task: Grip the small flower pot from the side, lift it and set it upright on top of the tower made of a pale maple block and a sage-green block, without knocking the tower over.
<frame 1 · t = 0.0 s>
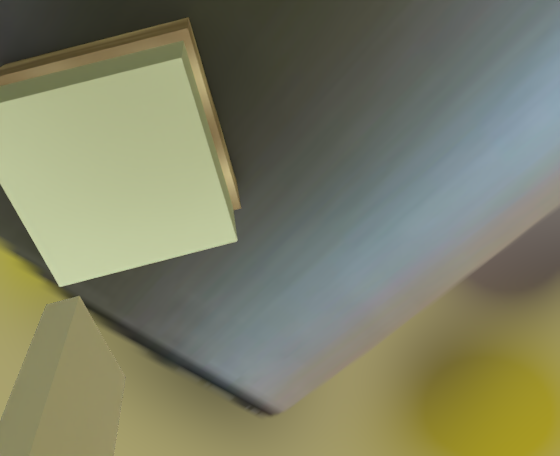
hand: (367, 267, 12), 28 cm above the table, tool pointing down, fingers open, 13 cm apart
maple block: (132, 127, 38), on the table, touching sage block
sage block: (124, 152, 33), point 5 cm above the table, touching maple block
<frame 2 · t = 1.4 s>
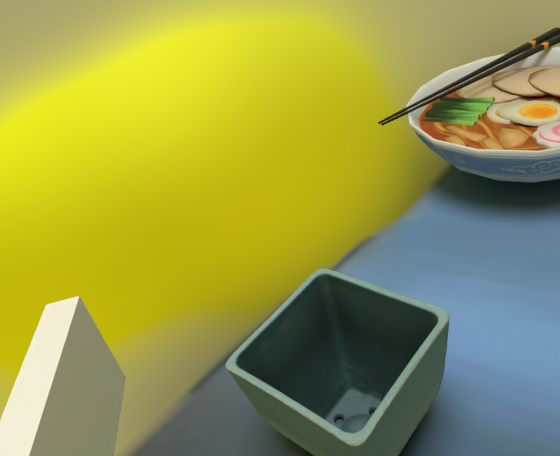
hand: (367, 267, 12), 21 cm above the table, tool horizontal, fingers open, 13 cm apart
ramen bowl: (528, 161, 50), on the table
flower pot: (363, 437, 31), on the table
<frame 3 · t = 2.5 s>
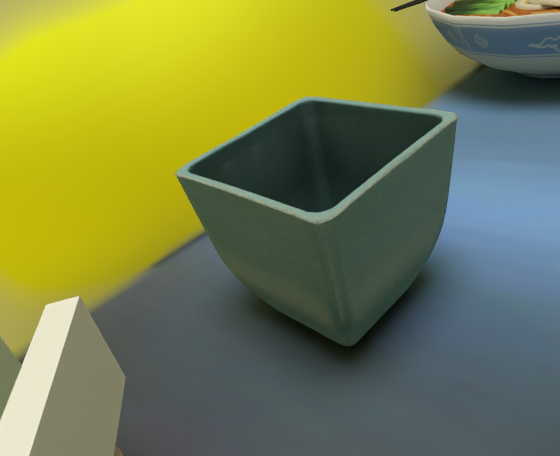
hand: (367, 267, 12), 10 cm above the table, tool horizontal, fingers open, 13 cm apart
ramen bowl: (559, 66, 44), on the table
flower pot: (344, 302, 25), on the table
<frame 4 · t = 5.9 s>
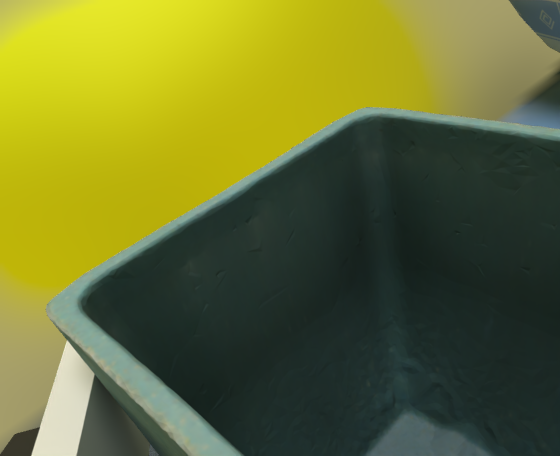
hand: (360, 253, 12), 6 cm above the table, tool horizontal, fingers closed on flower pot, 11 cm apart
when the fingers open (17 cm above the table, at t = 11.9 s): flower pot drops 1 cm, point 10 cm above the table.
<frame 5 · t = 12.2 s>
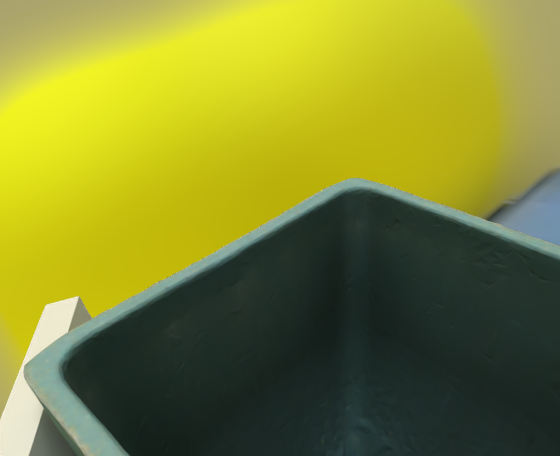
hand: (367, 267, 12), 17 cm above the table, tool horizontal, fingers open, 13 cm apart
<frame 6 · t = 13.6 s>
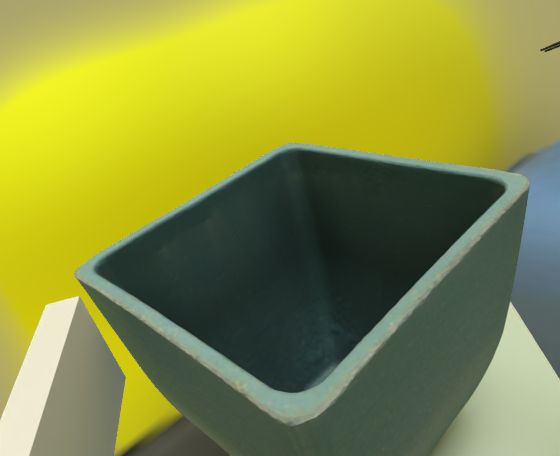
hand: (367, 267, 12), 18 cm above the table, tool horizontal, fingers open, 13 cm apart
flower pot: (349, 445, 17), point 9 cm above the table, touching sage block
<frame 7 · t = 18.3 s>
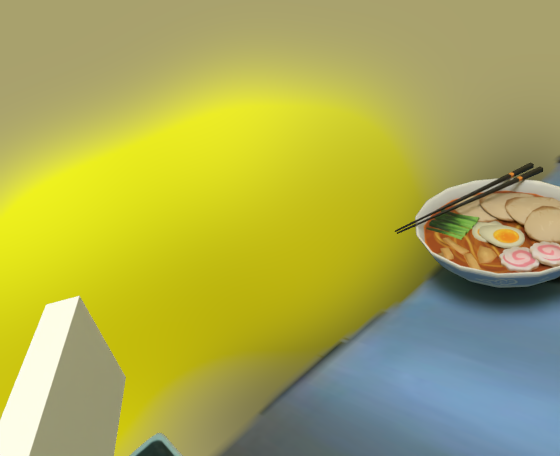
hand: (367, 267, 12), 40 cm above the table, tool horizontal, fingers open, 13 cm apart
ramen bowl: (501, 264, 70), on the table
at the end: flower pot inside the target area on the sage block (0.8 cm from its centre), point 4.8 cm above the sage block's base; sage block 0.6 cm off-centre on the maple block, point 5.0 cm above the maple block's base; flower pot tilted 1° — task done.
